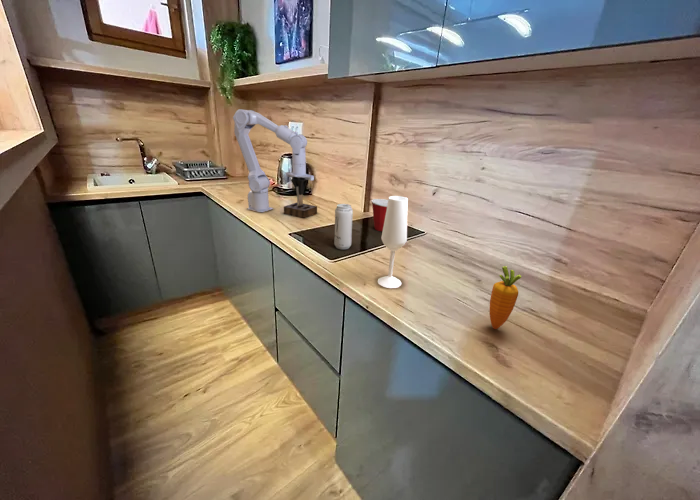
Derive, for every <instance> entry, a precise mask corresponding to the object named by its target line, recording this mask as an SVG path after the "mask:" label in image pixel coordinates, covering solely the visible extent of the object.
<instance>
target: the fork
mask: <svg viewBox="0 0 700 500" xmlns="http://www.w3.org/2000/svg"><path fill="white" fill-rule="evenodd" d="M296 189H297V194H296V203H297V206H301V205H303V204H304V194H303V195H299V186H297V187H296Z"/></svg>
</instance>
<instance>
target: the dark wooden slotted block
mask: <svg viewBox="0 0 700 500" xmlns="http://www.w3.org/2000/svg"><path fill="white" fill-rule="evenodd" d="M283 214H284V215H288V216H292V217H297V218H301V219H307V218H309V217H311V216H315V215H317V214H318V206H317V205H313V204H307V203H303V205H301V206H297V202H294V203H291V204H287V205H284V206H283Z"/></svg>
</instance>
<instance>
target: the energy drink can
mask: <svg viewBox="0 0 700 500" xmlns="http://www.w3.org/2000/svg"><path fill="white" fill-rule="evenodd" d="M353 215H354V210H353V208H352V204H349V203H338V204H337V205H336V208H335V209H334V241H333V242H334V243H333V245H334V246H335V248H336V249H338V250H349V249H350V247H351V246H352V238H353Z"/></svg>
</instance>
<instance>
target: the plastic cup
mask: <svg viewBox="0 0 700 500" xmlns="http://www.w3.org/2000/svg"><path fill="white" fill-rule="evenodd" d="M370 202H371V206H372V218H373V225H374V226H373V227H374V230H375V231H377V232H383V226H384V221H385V216H386V210H387V205H388V199H385V198H373V199H371V201H370Z"/></svg>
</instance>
